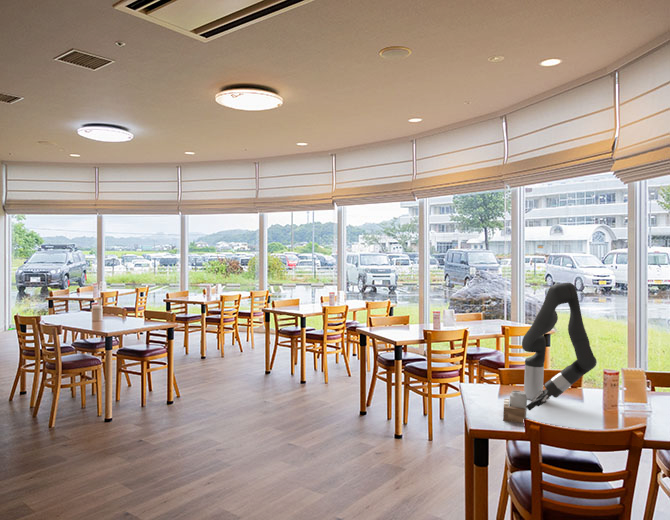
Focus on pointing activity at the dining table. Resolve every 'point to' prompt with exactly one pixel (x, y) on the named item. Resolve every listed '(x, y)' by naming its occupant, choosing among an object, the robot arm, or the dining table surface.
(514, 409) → the corner stop
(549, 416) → the dining table surface
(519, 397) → the can
